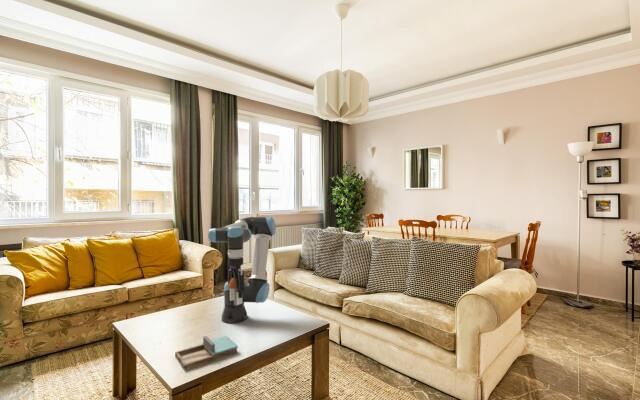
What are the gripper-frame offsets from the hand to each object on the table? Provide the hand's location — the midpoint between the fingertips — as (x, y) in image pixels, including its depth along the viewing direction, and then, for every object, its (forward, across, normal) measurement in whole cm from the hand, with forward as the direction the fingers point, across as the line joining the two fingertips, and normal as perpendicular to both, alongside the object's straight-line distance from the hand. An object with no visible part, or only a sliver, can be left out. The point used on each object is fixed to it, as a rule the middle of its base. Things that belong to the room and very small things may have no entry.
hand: (236, 301), depth 166 cm
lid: (+19, +2, -9) cm, 21 cm away
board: (+21, +2, -15) cm, 26 cm away
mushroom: (+2, 0, 0) cm, 2 cm away
